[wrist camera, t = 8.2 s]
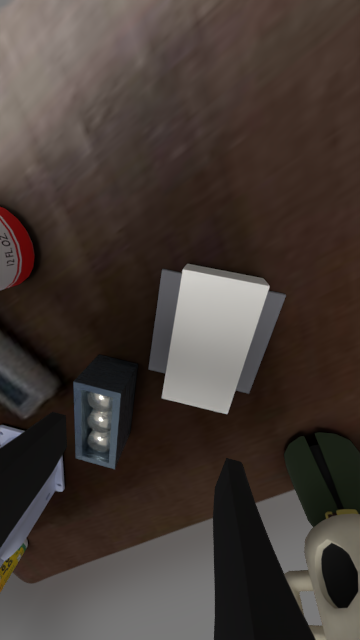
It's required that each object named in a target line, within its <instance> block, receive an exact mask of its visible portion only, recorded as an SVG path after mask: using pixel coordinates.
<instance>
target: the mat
mask: <svg viewBox="0 0 360 640" xmlns="http://www.w3.org/2000/svg"><path fill="white" fill-rule="evenodd" d="M181 277H182V273H181V272H176V271H172V270H167V269H162V274H161V281H160V289H159V296H158V303H157V310H156V318H155V325H154V332H153V340H152V347H151V354H150V362H149V370H153V371H157V372H162V373H166V369H167V362H168V356H169V350H170V344H171V338H172V332H173V326H174V320H175V314H176V308H177V302H178V296H179V290H180V284H181ZM285 297H286V295H285V294H283V293H279V292H274V291H269V290H268V293H267V296H266V299H265V302H264V305H263V308H262V311H261V314H260V317H259V320H258V323H257V326H256V329H255V332H254V335H253V339H252V342H251V345H250V348H249V351H248V354H247V357H246V360H245V363H244V366H243V369H242V372H241V375H240V378H239V381H238V384H237V387H236V391H240V392H244V393H248V394H249V392H250V390H251V387H252V384H253V382H254V379H255V376H256V374H257V371H258V368H259V366H260V363H261V360H262V358H263V355H264V352H265V350H266V347H267V344H268V342H269V339H270V337H271V334H272V331H273V329H274V326H275V323H276V321H277V318H278V315H279V313H280V310H281V307H282V305H283V302H284V299H285Z"/></svg>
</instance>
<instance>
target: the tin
mask: <svg viewBox="0 0 360 640" xmlns="http://www.w3.org/2000/svg"><path fill="white" fill-rule="evenodd" d="M137 369H138V364H136V363H132V362H128V361H124V360H119V359H115V358H111V357H107V356H103V355H98V356H97V357H96V358H95V359H94V360H93V361H92V362H91V363H90V364H89V365H88V367H87V368H86V369H85V370H84V371H83V372H82V373H81V374H80V375H79V376H78V377H77V378H76V380H75V381H74V415H75V450H76V458H77V459H80V460H84V461H87V462H91V463H94V464H98V465H102V466H105V467H109V468H112V469H115V467H116V465H117V463H118V460H119V458H120V456H121V453H122V451H123V449H124V446H125V444H126V442H127V439H128V437H129V435H130V431H131V422H132V413H133V404H134V396H135V387H136V378H137Z"/></svg>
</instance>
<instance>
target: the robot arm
mask: <svg viewBox="0 0 360 640" xmlns="http://www.w3.org/2000/svg"><path fill="white" fill-rule="evenodd" d="M0 444H1V446H0V567H1V566H2V564H3V563H4V561H5V560H7V559H8V558H9V557H11V556H12V555H13V554H14V553H15V552H16V551H17V550H18V549H19V548H20V546H21V545H22V544H23V542H24V541H25V539H26V537H27V536H28V534H29V533H30V531H31V529H32V528H33V526H34V524H35V523H36V521H37V520H38V518H39V516H40V515H41V513H42V511H43V510H44V508H45V507H46V505H47V503H48V502H49V500H50V498H51V497H52V495H53V494H54V492H55V490H56V491H59V492H62V491H63V490H64V488H65V486H64V471H63V453H64V451H65V449H66V447H67V440H66V415H62V414H58V413H55V412H52V413H50V414H49V415H47V416H46V417H44V418H43V419H42V420H40V421H39V422H37V423H36V424H34V425H33V426H32V427H30V428H29V429H27V430H26V431H23V430H19V429H16V428H12V427H8V426H5V425H0ZM213 537H214V574H215V626H214V640H316V639H315V637H314V635H313V633H312V631H311V629H310V627H309V625H308V623H307V621H306V619H305V617H304V615H303V613H302V611H301V609H300V607H299V605H298V603H297V601H296V599H295V597H294V594H293V592H292V590H291V588H290V586H289V584H288V582H287V579H286V577H285V575H284V573H283V570H282V568H281V566H280V564H279V561H278V560H277V557H276V554H275V552H274V550H273V547H272V545H271V542H270V540H269V538H268V535H267V533H266V530H265V527H264V525H263V522H262V520H261V517H260V514H259V512H258V509H257V506H256V504H255V501H254V498H253V495H252V492H251V489H250V486H249V483H248V480H247V477H246V474H245V471H244V467H243V464H242V463H241V462H239V461H235V460H232V459H228V458H226V461H225V463H224V466H223V468H222V471H221V474H220V476H219V479H218V481H217V484H216V486H215V495H214V511H213Z"/></svg>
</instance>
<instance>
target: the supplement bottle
mask: <svg viewBox="0 0 360 640" xmlns="http://www.w3.org/2000/svg"><path fill="white" fill-rule="evenodd" d="M27 546H28V541H27V539H25V541H24V542H23V544H22V545H21V546H20V548H19V549H18V550H17V551H16V552H15V553H14V554H13V555H12V556H11V557H9V558H8V559H7V560H5V561H4V563H3V564H2V566H1V567H0V592H1V590H2V589H3V587H4V585H5V583H6V582H7V580H8V579H9V577H10V575H11V573H12V572H13V570H14V568H15V567H16V565H17V563H18V562H19V560H20V558H21V556H22V555H23V553H24V551H25V550H26V548H27Z"/></svg>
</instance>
